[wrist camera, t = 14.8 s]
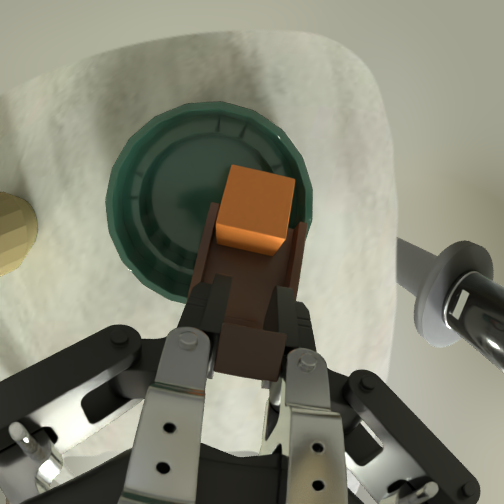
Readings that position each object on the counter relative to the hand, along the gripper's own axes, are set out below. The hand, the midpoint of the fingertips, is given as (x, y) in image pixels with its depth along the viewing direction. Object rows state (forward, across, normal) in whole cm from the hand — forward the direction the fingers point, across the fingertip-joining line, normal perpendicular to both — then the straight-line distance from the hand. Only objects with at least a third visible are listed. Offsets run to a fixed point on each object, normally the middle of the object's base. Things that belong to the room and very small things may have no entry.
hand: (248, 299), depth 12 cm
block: (+9, 0, 0) cm, 9 cm away
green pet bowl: (+15, +4, +1) cm, 15 cm away
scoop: (+8, 0, +3) cm, 8 cm away
